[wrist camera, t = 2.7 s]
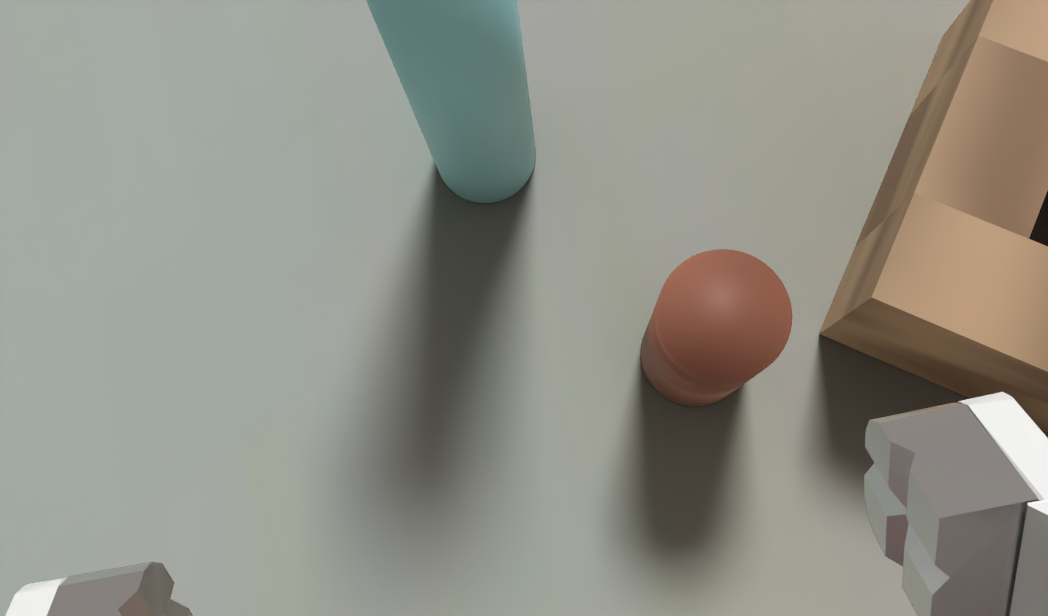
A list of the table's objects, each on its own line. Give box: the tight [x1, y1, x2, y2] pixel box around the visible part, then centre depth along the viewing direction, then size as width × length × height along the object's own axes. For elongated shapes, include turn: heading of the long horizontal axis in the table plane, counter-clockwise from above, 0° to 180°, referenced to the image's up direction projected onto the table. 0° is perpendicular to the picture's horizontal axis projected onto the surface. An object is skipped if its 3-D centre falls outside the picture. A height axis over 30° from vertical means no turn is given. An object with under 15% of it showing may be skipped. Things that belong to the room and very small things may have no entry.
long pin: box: [366, 0, 536, 203], centre depth 23 cm, size 3×3×13 cm
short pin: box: [641, 249, 792, 407], centre depth 25 cm, size 3×3×6 cm
